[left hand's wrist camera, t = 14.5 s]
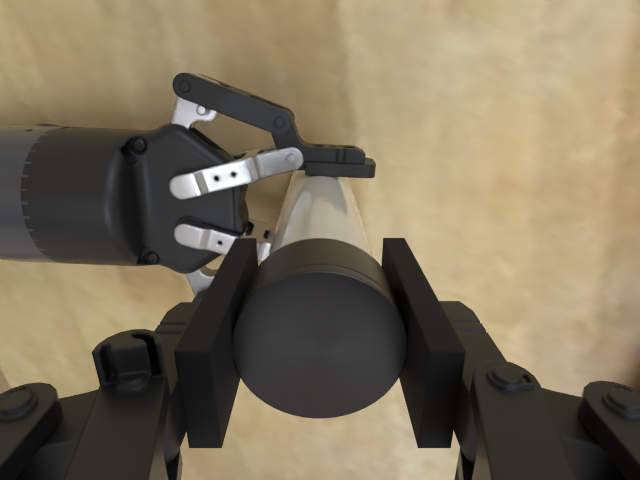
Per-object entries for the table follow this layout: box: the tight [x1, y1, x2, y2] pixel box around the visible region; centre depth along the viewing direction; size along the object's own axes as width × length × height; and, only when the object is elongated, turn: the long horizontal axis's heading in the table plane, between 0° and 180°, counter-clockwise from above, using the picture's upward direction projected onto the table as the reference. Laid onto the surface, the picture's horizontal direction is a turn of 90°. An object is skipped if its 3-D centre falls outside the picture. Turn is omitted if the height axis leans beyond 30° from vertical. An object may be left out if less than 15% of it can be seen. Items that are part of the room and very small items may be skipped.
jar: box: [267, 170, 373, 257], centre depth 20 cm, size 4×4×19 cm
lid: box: [232, 238, 408, 418], centre depth 11 cm, size 5×5×2 cm
